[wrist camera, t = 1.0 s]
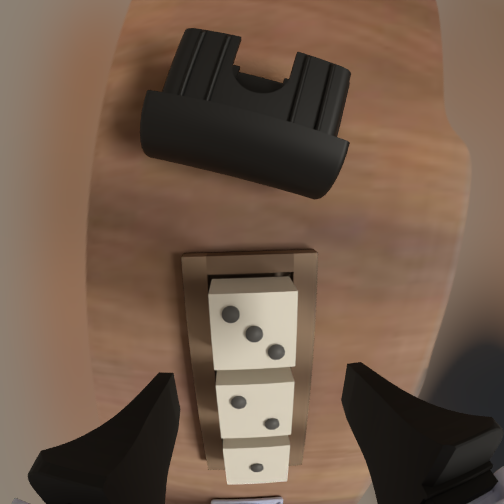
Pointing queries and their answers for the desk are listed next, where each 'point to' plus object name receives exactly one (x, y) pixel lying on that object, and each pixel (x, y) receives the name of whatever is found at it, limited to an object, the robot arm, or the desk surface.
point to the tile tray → (199, 333)
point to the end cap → (248, 117)
